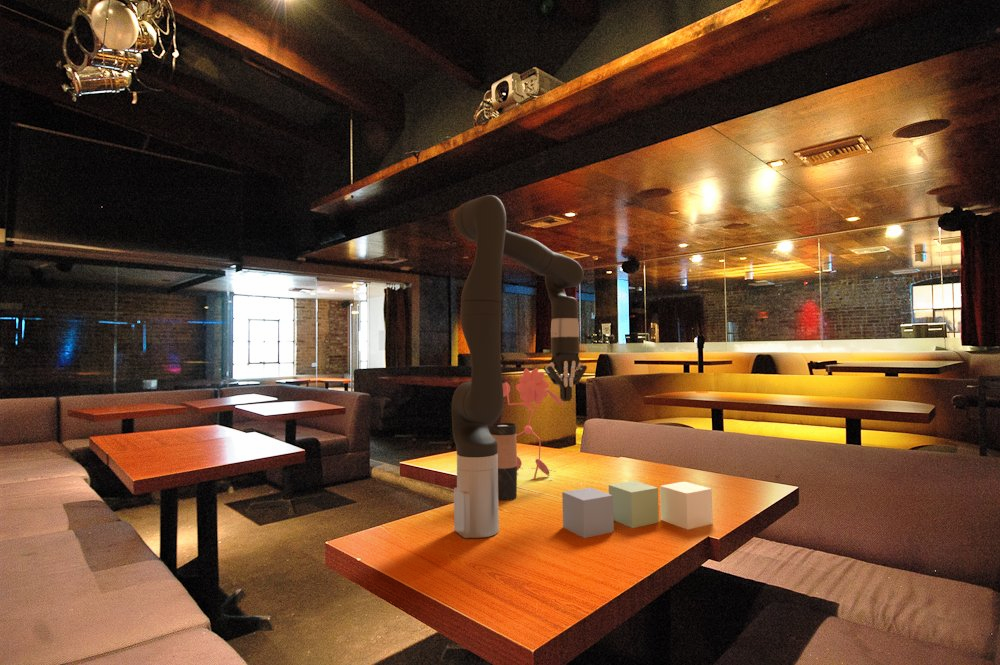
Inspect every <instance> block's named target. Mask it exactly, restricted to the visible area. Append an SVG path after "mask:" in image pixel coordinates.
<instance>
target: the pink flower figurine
mask: <svg viewBox="0 0 1000 665" xmlns="http://www.w3.org/2000/svg"><path fill="white" fill-rule="evenodd" d="M545 376H546V375H545V373H544V372H543V371H539V369H538V368H534V369H532V370H531V371H530V369H528V368H527V367H526V368H524V370H523V372H522V375H521V374H520V376H519V378H518V379H519V383H517V384H516V385H515V390H516V391H517V392H519V393H520V395H519V400H522V401H521V402H514V403H513V402H511V403H510V393H511V386H510V384H509V383H508V381H506V382H502V384H503V398H504V397H506V398H507V405H508V406H514V405H515V406H516V405H522V406H524V407H525V408H527V409H528V410H530V411H531V412H530V417H529V422H528V425H526V426H524V428H523V431H522V432H519V433H518V434H517V433H516V437H518V436H519V435H521V434H524V433H525V434H526V435H530V434H533V435H534V436H535V437H536V438H537V439H538V440H539V442H538V443H539V446H538V458H535V464H536V467H532V469H535V472H534V475H533V479H534V480H536V478H537V473H538V470H540V471H541V472H542V473H544V474H545V475H546V476H548V477H550V472H551V471H552V472H555V473H556V472H557V471H555V470H551V469H549V468H548V466H547V465H546V464H545V463H544V462H543V460H541V438H540V437H539V436H538V435H537V433H535V432H534V431H533V428H532V426H531V421H532V417H533V414H534V411H533V410H535V411H536V410H537V409H538V407H539V405H540V404H541V403H542V401H543V399H545V398H546V397H547V394H549V396H550V397H551V398H552V399H553V400H554V401H555V402H556V403H557V404H559V405H560V406H562V407H564V404H563V401H562V400H561V398H559V397H558V396H557V395H556V394H555V393H554V392H553V391H552V390H550V389H549V386H550V383H549V382H548V381H547V380H544V378H545ZM533 402H534V403H535V405H536V406H535V407H534V406H532V404H533ZM522 464H523V463H522V460H521V457H519V456H518V455H517V472H518V471H519V470H520V469H521V468H522ZM552 481H553V480H549V482H552Z"/></svg>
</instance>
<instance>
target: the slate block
mask: <svg viewBox="0 0 1000 665" xmlns="http://www.w3.org/2000/svg"><path fill="white" fill-rule="evenodd" d="M561 497H562V498H561V499H562V528H563V529H566V530H568V531H570V532H571V533H573V534H574V535H577V536H579V537H581V538H583V539H587V538H592V537H596V536H601V535H605V534H610V533H614V532H615V531H614V530H615V529H614V526H615V525H614V522H615V521H614V519H613V495H610V494H609V492H604V491H601V490H599V489H596V488H593V487H585V488H579V489H573V490H568V491H567V490H566V491H562V496H561Z"/></svg>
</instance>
